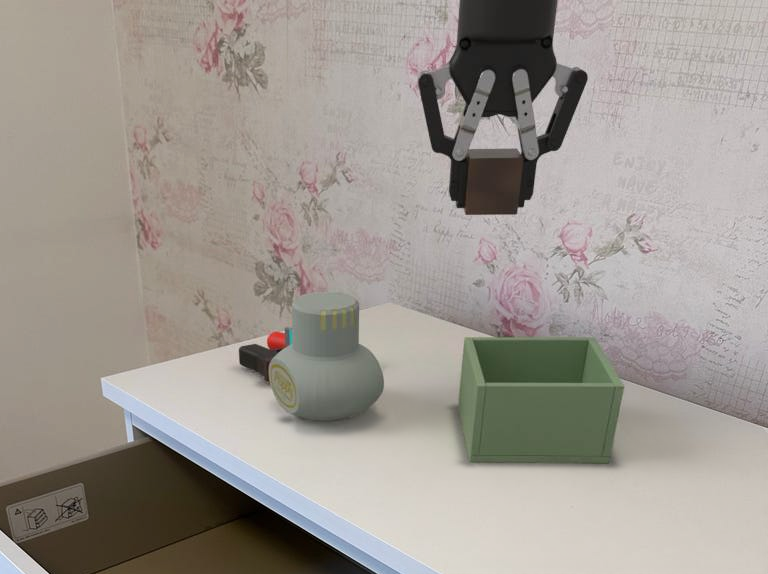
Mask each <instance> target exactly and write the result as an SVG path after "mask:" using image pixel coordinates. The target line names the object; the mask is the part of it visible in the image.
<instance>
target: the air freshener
mask: <svg viewBox="0 0 768 574" xmlns="http://www.w3.org/2000/svg"><path fill="white" fill-rule="evenodd" d="M291 328H292V344H291V345H289V346H287V347H286V348H284V349H283V350H281V351H280V352H279V353H278V354H277V355H276V356H275V357H274V358H273V359H272V360H271V362H270V364H269V381H270V382H269V384H270V388H271V391H272V393H273V396H274V398H275V399H276V401H277V403H278V404H279V405H280V407H281V408H282V409H283V410H284V411H285V412H286V413H288V414H291V415H293V416H295V417H296V418H298V419H301V420H306V421H313V422H334V421H341V420H346V419H349V418H352V417H355V416H358V415H359V414H361V413H363V412H365V411H367V410H368V409H369V408H370V407H372V406H373V405H374V404H375V403H376V402H377V401H378V400H379V398H380V397H381V396H382V394H383V391H384V387H385V378H384V373H383V369H382V367H381V365H380V363H379V361H378V359H377V357H376V356H375V354H374V353H373V352H372V351H371V350H370V349H369V348H368V347H366V346H364V345H362V344H361V343H360V302H359V301H358V299H357V298H356V297H355V296H354V295H351V294H349V293H345V292H339V291H314V292H313V291H312V292H308V293H304V294H302V295H299V296H298V297H296V298H295V299H294V300H293V301H292V303H291Z"/></svg>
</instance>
